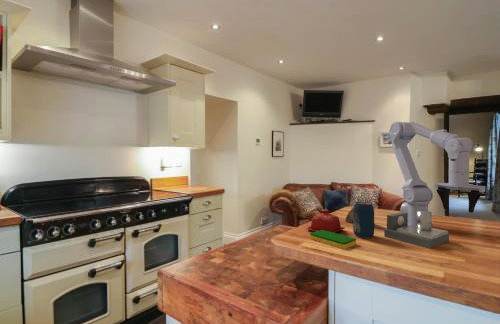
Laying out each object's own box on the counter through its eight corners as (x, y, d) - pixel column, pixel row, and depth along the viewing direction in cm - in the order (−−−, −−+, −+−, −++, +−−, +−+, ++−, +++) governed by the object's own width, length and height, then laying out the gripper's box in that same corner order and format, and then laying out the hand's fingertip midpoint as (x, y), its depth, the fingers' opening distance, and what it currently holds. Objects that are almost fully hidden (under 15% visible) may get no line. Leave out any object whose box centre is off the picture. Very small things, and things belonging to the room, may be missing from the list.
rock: (338, 216, 121) (356, 218, 112) (345, 199, 124) (363, 200, 115) (354, 229, 124) (373, 231, 115) (360, 212, 127) (379, 213, 118)
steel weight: (413, 228, 96) (413, 211, 96) (421, 227, 98) (422, 210, 98) (426, 231, 92) (426, 213, 92) (434, 230, 94) (434, 212, 94)
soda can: (375, 235, 101) (375, 202, 101) (372, 240, 96) (372, 205, 95) (355, 232, 105) (356, 200, 105) (351, 236, 99) (351, 203, 99)
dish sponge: (322, 236, 102) (322, 229, 102) (356, 245, 91) (356, 238, 91) (309, 239, 98) (309, 233, 98) (343, 250, 87) (343, 242, 87)
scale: (384, 236, 100) (384, 215, 99) (404, 230, 106) (404, 211, 106) (429, 248, 87) (430, 224, 87) (449, 241, 94) (449, 219, 94)
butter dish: (304, 231, 108) (304, 209, 108) (320, 225, 116) (320, 205, 116) (330, 237, 100) (330, 213, 99) (346, 231, 107) (346, 209, 107)
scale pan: (393, 230, 98) (393, 227, 98) (410, 226, 104) (410, 223, 104) (431, 239, 87) (431, 236, 87) (447, 234, 93) (447, 231, 93)
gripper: (430, 171, 102) (430, 208, 102) (479, 173, 90) (478, 215, 90) (440, 170, 106) (439, 206, 106) (488, 172, 93) (487, 213, 94)
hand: (458, 210), depth 98 cm, fingers open, 7 cm apart
